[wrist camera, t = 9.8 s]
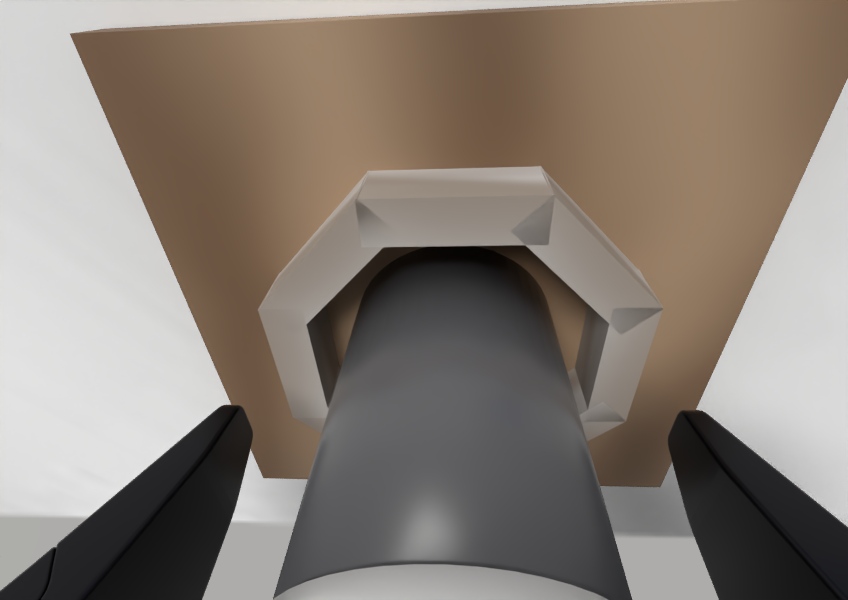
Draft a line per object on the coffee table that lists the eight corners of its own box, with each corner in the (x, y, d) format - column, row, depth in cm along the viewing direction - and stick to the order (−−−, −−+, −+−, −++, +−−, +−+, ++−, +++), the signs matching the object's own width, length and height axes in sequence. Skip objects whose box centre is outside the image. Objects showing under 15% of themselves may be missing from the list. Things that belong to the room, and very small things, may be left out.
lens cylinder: (366, 395, 13) (284, 783, 7) (340, 241, 10) (150, 673, 4) (542, 397, 13) (628, 810, 7) (567, 238, 10) (771, 710, 4)
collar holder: (272, 454, 17) (248, 518, 15) (104, 29, 9) (2, 43, 7) (649, 461, 16) (678, 530, 14) (843, -9, 8) (974, -5, 6)
